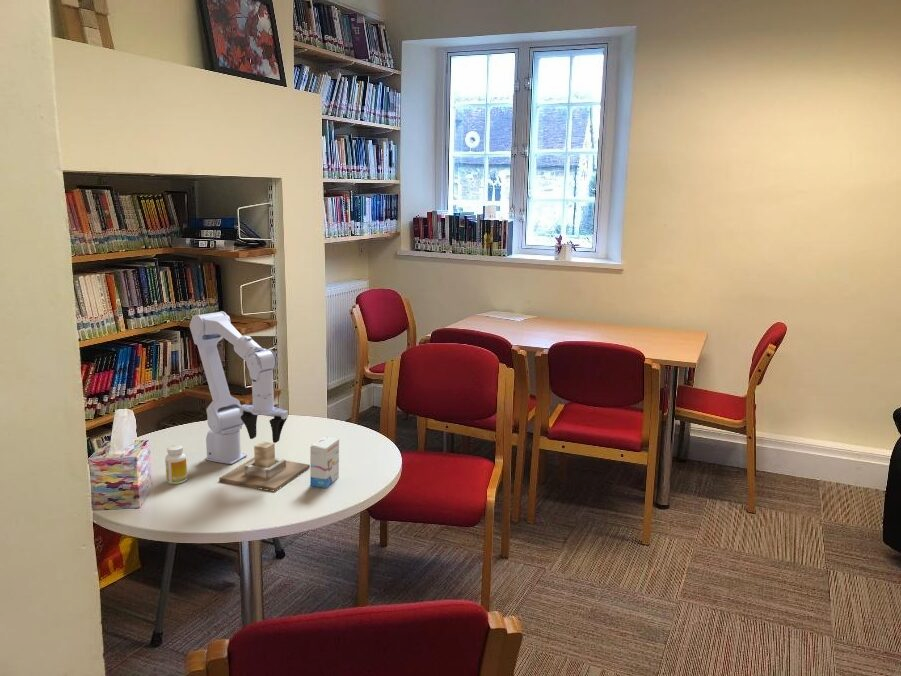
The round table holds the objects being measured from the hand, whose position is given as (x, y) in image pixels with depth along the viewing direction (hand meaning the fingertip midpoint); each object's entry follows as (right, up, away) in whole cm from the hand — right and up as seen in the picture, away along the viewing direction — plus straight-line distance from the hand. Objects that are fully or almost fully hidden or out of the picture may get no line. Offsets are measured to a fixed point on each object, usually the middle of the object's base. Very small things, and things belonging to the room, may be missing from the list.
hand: (264, 439), depth 207 cm
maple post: (0, -9, +2) cm, 9 cm away
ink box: (+17, -12, -2) cm, 21 cm away
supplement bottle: (-23, -11, -3) cm, 26 cm away
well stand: (0, -10, +2) cm, 10 cm away
